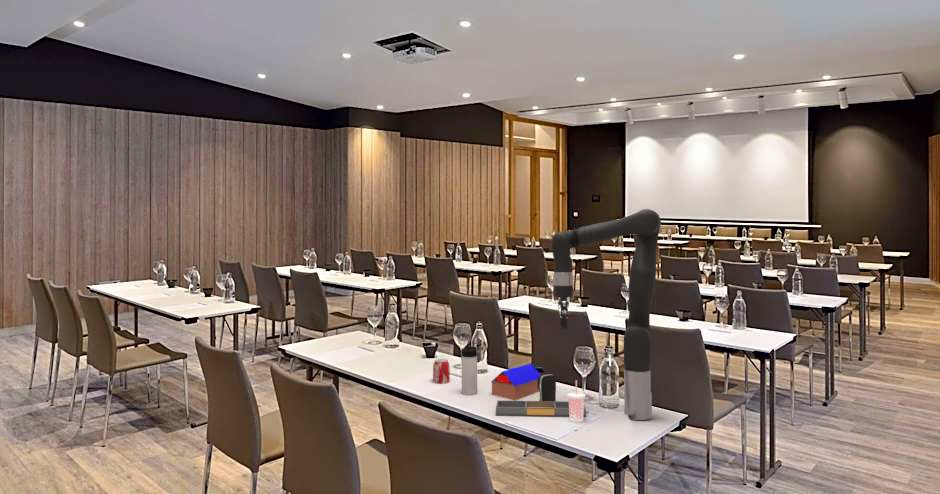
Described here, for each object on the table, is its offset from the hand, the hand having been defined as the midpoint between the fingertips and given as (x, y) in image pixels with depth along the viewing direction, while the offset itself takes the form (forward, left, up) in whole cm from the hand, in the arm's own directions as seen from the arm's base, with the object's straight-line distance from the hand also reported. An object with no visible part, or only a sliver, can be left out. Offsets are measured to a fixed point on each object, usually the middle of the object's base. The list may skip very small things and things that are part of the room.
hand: (563, 327), depth 247 cm
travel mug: (+37, -12, -30) cm, 49 cm away
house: (+18, -16, -31) cm, 39 cm away
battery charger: (+7, -3, -30) cm, 31 cm away
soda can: (+50, -27, -30) cm, 65 cm away
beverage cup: (-3, +19, -30) cm, 36 cm away
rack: (+9, +10, -30) cm, 33 cm away
